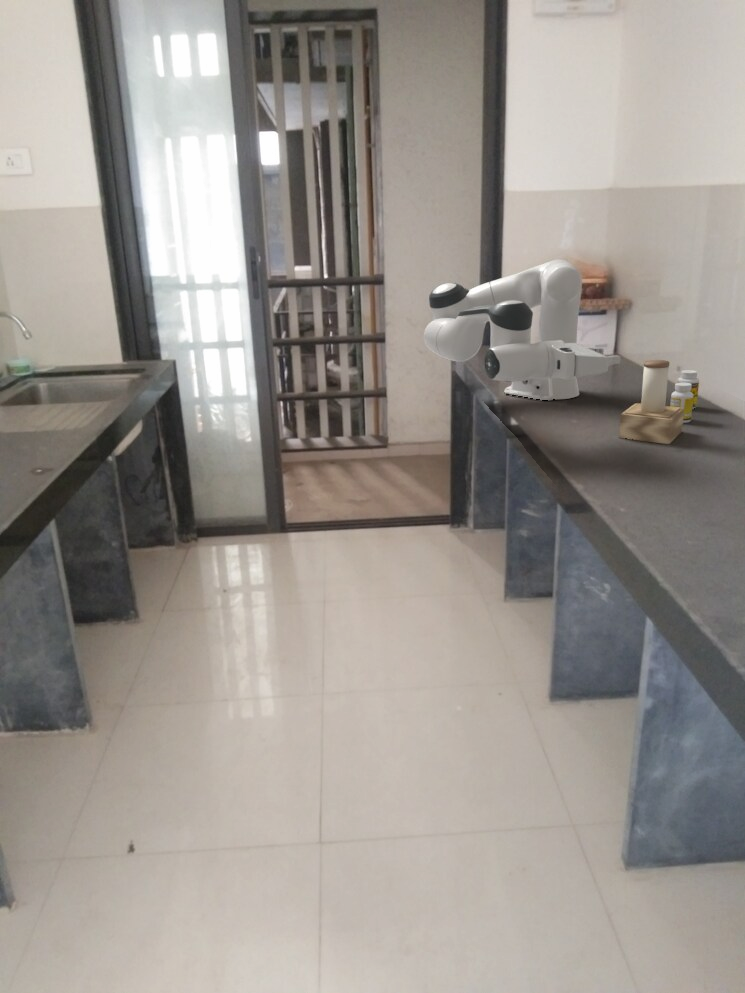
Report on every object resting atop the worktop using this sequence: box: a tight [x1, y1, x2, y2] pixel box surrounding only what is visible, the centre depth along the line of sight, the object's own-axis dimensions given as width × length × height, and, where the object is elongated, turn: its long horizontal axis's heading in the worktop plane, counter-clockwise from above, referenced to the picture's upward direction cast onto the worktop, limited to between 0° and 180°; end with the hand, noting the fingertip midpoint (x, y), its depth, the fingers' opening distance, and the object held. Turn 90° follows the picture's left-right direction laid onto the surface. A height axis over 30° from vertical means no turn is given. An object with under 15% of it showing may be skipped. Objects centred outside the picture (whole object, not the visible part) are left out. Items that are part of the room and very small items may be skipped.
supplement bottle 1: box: [676, 369, 700, 410], centre depth 213 cm, size 6×6×10 cm
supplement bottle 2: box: [669, 382, 693, 424], centre depth 201 cm, size 5×5×10 cm
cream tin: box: [640, 359, 670, 413], centre depth 188 cm, size 6×6×12 cm
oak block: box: [618, 402, 684, 445], centre depth 191 cm, size 12×12×6 cm
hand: (610, 355), depth 183 cm, fingers open, 8 cm apart
